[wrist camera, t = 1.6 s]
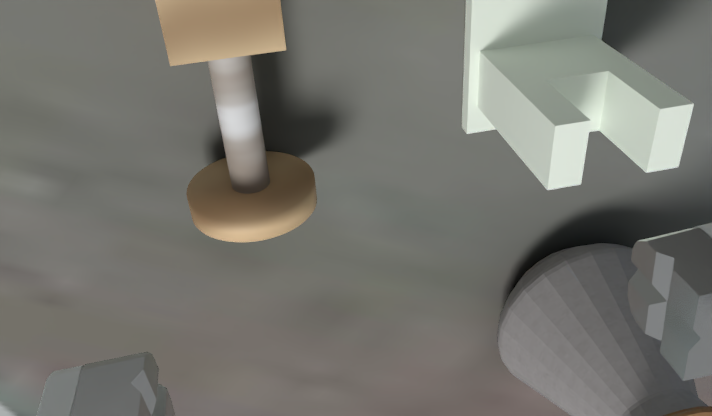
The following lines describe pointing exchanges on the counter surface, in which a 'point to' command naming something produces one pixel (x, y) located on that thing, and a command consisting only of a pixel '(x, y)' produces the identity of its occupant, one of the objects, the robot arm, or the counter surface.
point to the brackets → (564, 88)
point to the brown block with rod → (238, 121)
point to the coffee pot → (589, 339)
